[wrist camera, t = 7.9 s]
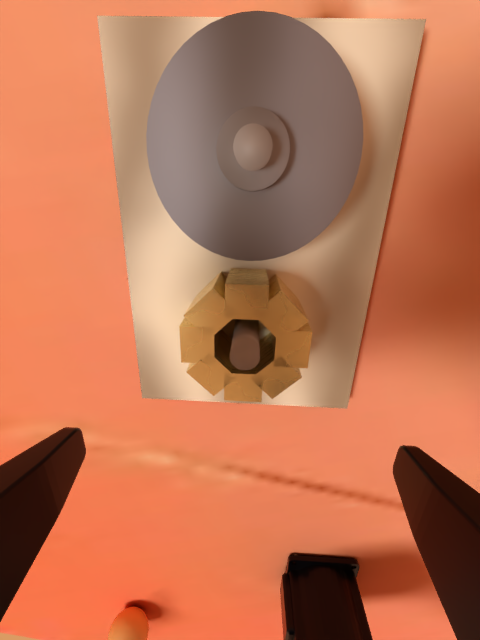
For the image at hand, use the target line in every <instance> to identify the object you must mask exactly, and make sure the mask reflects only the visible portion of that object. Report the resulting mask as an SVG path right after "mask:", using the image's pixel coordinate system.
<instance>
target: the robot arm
mask: <svg viewBox="0 0 480 640" xmlns="http://www.w3.org/2000/svg"><path fill="white" fill-rule="evenodd" d="M85 454H86V448H85V444H84V439H83V435H82V431H81V429H80V428H72V427H66V428H63V429H61V430H59V431H58V432H56V433H54V434H53V435H51V436H49V437H48V438H46V439H44V440H43V441H41V442H39V443H38V444H36V445H34V446H33V447H31V448H29V449H27V450H26V451H24V452H22V453H21V454H19V455H17V456H16V457H14V458H12V459H11V460H9V461H7V462H6V463H4V464H2V465H1V466H0V622H1V620H2V618H3V616H4V614H5V613H6V611H7V609H8V607H9V605H10V603H11V602H12V600H13V598H14V596H15V594H16V593H17V591H18V589H19V587H20V585H21V584H22V582H23V580H24V578H25V576H26V574H27V573H28V571H29V569H30V567H31V565H32V564H33V562H34V560H35V558H36V556H37V555H38V553H39V551H40V549H41V547H42V545H43V544H44V542H45V540H46V538H47V536H48V535H49V533H50V531H51V529H52V527H53V526H54V524H55V522H56V520H57V518H58V516H59V514H60V512H61V510H62V508H63V506H64V504H65V501H66V499H67V497H68V494H69V492H70V490H71V488H72V485H73V483H74V481H75V479H76V476H77V474H78V472H79V469H80V467H81V465H82V463H83V460H84V458H85ZM393 475H394V479H395V482H396V485H397V488H398V491H399V494H400V497H401V500H402V503H403V507H404V510H405V513H406V516H407V519H408V522H409V525H410V528H411V531H412V534H413V537H414V539H415V542H416V544H417V547H418V549H419V551H420V554H421V556H422V558H423V561H424V563H425V565H426V568H427V570H428V572H429V575H430V577H431V579H432V582H433V584H434V586H435V589H436V591H437V593H438V596H439V598H440V601H441V603H442V605H443V608H444V610H445V612H446V615H447V617H448V619H449V622H450V624H451V626H452V629H453V631H454V633H455V636H456V638H457V640H480V493H478V492H477V491H476V490H474V489H473V488H472V487H470V486H469V485H468V484H466V483H465V482H464V481H462V480H461V479H460V478H458V477H457V476H456V475H454V474H453V473H452V472H450V471H449V470H448V469H446V468H445V467H444V466H442V465H441V464H440V463H438V462H437V461H436V460H434V459H433V458H432V457H430V456H429V455H428V454H426V453H425V452H424V451H422V450H421V449H420V448H418V447H416V446H405V445H403V446H400V447H399V449H398V452H397V455H396V459H395V462H394V465H393ZM358 570H359V564H358V561H357V560H355V559H344V558H329V557H314V556H300V555H291V556H289V557H288V562H287V569H286V573H284V574H283V575H282V581H281V588H280V594H281V608H282V623H283V637H284V640H373V639H372V636H371V632H370V628H369V625H368V621H367V617H366V614H365V610H364V606H363V603H362V599H361V595H360V592H359V588H358V584H357V581H356V577H357V573H358Z"/></svg>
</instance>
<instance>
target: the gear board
mask: <svg viewBox="0 0 480 640" xmlns="http://www.w3.org/2000/svg"><path fill="white" fill-rule="evenodd" d="M97 18H98V26H99V35H100V43H101V52H102V60H103V69H104V77H105V86H106V94H107V103H108V111H109V120H110V128H111V137H112V145H113V154H114V162H115V171H116V179H117V188H118V196H119V205H120V213H121V222H122V230H123V239H124V247H125V256H126V264H127V273H128V281H129V290H130V298H131V307H132V315H133V324H134V332H135V341H136V349H137V358H138V366H139V375H140V383H141V392H142V398H151V399H171V400H190V401H210V402H230V403H249V404H269V405H289V406H308V407H328V408H347V407H348V402H349V397H350V393H351V388H352V383H353V378H354V373H355V368H356V363H357V358H358V353H359V348H360V343H361V338H362V333H363V328H364V323H365V318H366V314H367V309H368V304H369V299H370V294H371V289H372V284H373V279H374V274H375V269H376V264H377V259H378V254H379V249H380V244H381V239H382V235H383V230H384V225H385V220H386V215H387V210H388V205H389V200H390V195H391V190H392V185H393V180H394V175H395V170H396V165H397V160H398V156H399V151H400V146H401V141H402V136H403V131H404V126H405V121H406V116H407V111H408V106H409V101H410V96H411V91H412V86H413V81H414V77H415V72H416V67H417V62H418V57H419V52H420V47H421V42H422V37H423V32H424V27H425V22H426V19H362V18H292V17H289V16H286V15H282V14H278V13H275V12H265V11H251V12H241V13H237V14H233V15H229V16H226V17H162V16H97ZM231 268H244V269H266V271H267V276H268V280H269V279H270V278H271V277H273V276H274V275H275V274H276V275H277V276H278V277H279V278H280V279H281V280H282V281H283V282H284V283H285V284H286V286H287V287H288V288H289V289H290V290H291V291H292V292H293V293H294V294H295V295H296V297H297V298H298V299H299V301H300V303H301V305H302V307H303V309H304V312H305V314H306V316H307V318H308V320H309V321H308V323H309V326H310V328H311V330H312V340H311V347H310V355H309V362H308V368H299V369H300V373H301V376H302V378H301V379H299V380H298V381H297V382H295V383H294V384H292V385H291V386H290V387H288V388H287V389H286V390H284V391H283V392H281V393H280V394H279V395H277V396H276V397H275V398H273V399H271V398H270V397H269V396H268V395H267V394H266V393H265V392H264V391H263V390H262V401H261V402H247V401H227V400H224V388H223V389H222V390H221V391H220V392H218V393H217V394H216V395H215V396H213V395H212V394H210V393H209V392H208V391H207V390H206V389H205V388H204V387H203V386H201V385H200V384H199V383H198V382H197V381H196V380H195V379H193V378H192V377H191V376H190V375H189V374H188V373H187V372H186V371H187V369H188V366H189V364H190V363H182V362H181V350H180V331H179V326H180V324H181V323H182V321H183V319H184V318H185V317H184V314H185V312H186V311H187V309H188V308H189V306H190V305H191V303H192V301H193V300H194V298H195V297H196V295H197V294H198V293H199V292H200V291H201V290H202V289H203V288H204V287H205V286H206V285H207V284H208V283H210V282H211V281H212V280H213V279H214V278H215V277H216V276H217V275H218V274H219V273H220V272H222V273H223V274H224V275H225V276H226V277H228V274H229V271H230V269H231ZM222 330H223V331H224V332H225V333H226V334H227V335H228V336H229V337H230V338H231V339H232V345H231V351H230V361H231V363H232V365H233V366H234V367H236V368H237V369H240V370H250V369H253V368H254V367H256V366H257V364H258V363H259V360H260V348H259V341H260V340H261V339H262V338H263V337H265V336H266V335H267V334H268V333H270V331H269V330H268V329H267V328H266V327H265V326H264V325H263V324H262V323H261V322H260V321H259V320H247V319H232V320H231V321H230V322H229V323H227V324H226V325H225V326H224V327H223V328H222Z"/></svg>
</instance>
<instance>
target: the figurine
mask: <svg viewBox="0 0 480 640" xmlns="http://www.w3.org/2000/svg"><path fill="white" fill-rule="evenodd" d="M148 631H149V624H148V619H147V616H146V614H145V613H144V611H143V610H142V609H140V608H138V607H129V608H126V609H125V610H123V611H122V612H121V613H119V615H118V616H117V617H116V618H115V620H114V621H113V623H112V625H111V628H110V631H109V635H108V640H147V637H148Z"/></svg>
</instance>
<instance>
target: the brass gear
mask: <svg viewBox="0 0 480 640" xmlns="http://www.w3.org/2000/svg"><path fill="white" fill-rule="evenodd" d="M184 317H185V318H184V319H183V321H182V323H181V324H180V326H179V331H180V350H181V362H182V363H190V364H189V366H188V369H187V371H186V372H187V373H188V374H189V375H190V376H191V377H192V378H193V379H195V380H196V381H197V382H198V383H199V384H200V385H201V386H203V387H204V388H205V389H206V390H207V391H208V392H209V393H210V394H212V395H213V396H215V395H216V394H217V393H218V392H220V391H221V390H222V389H223V388H224V400H227V401H247V402H261V401H262V390H263V391H264V392H265V393H266V394H267V395H268V396H269V397H270V398H271V399H273V398H275V397H276V396H277V395H279V394H280V393H281V392H283V391H284V390H286V389H287V388H288V387H290V386H291V385H292V384H294V383H295V382H297V381H298V380H299V379H301V378H302V376H301V373H300V369H299V368H308V362H309V355H310V347H311V340H312V330H311V328H310V326H309V323H308V321H309V320H308V318H307V316H306V314H305V312H304V309H303V307H302V305H301V303H300V301H299V299H298V298H297V297H296V295H295V294H294V293H293V292H292V291H291V290H290V289H289V288H288V287H287V286H286V284H285V283H284V282H283V281H282V280H281V279H280V278H279V277H278V276H277V275H276V274H275V275H274V276H273V277H271V278H270V279H269V280H268V276H267V271H266V269H244V268H231V269H230V271H229V274H228V277H226V276H225V275H224V274H223V273H222V272H220V273H219V274H218V275H217V276H216V277H215V278H214V279H213V280H212V281H211V282H210V283H208V284H207V285H206V286H205V287H204V288H203V289H202V290H201V291H200V292H199V293H198V294H197V295H196V297H195V298H194V300H193V301H192V303H191V305H190V306H189V308H188V309H187V311H186V312H185V314H184ZM232 319H247V320H259V321H260V322H261V323H262V324H263V325H264V326H265V327H266V328H267V329H268V330H269V331H270V333H268V334H267V335H266V336H265V337H263V338H262V339H261V340H260V341H259V348H260V360H259V363H258V364H257V366H256V367H254V368H253V369H250V370H240V369H237V368H236V367H234V366H233V365H232V363H231V361H230V351H231V345H232V339H231V338H230V337H229V336H228V335H227V334H226V333H225V332H224V331H223V330H222V328H223V327H224V326H225V325H226V324H227V323H229V322H230V321H231V320H232Z"/></svg>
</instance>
